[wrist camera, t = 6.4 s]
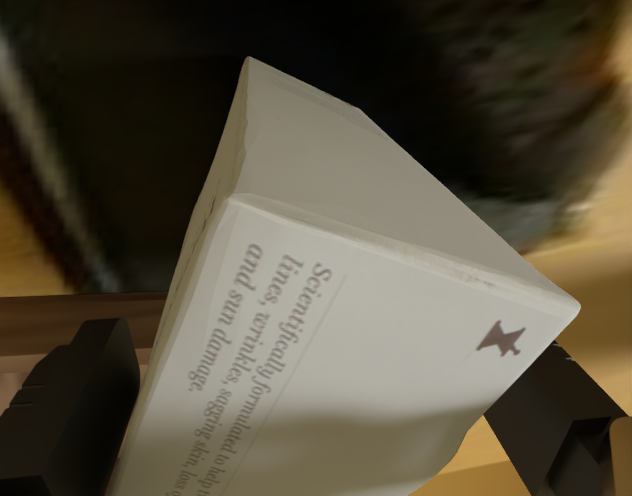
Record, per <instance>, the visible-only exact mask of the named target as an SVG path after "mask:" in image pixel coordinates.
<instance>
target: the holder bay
mask: <svg viewBox="0 0 632 496" xmlns="http://www.w3.org/2000/svg"><path fill="white" fill-rule="evenodd" d="M168 293H169V291H162V292H136V293H110V294H85V295H59V296H33V297H8V298H0V416H1V415H2V413H3V412H4V410H5V409H6V408H9V403H10V402H11V400H12V399H13V397H14V396H15V394H16V393H17V391H18V390H21V389H22V384H23V382H24V381H25V380H26V378H27V377H28V375H29V374H30V372H31V371H32V369H33V368H34V366H35V365H36V364H37V363H38V362H39V361H40V360H41V359H43V358H44V357H45V356H46V355H48V354H49V353H50V352H51V351H52V350H54V349H55V348H56V347H57V346H59V345H70V343H71V341H72V340H73V338H74V337H75V335H76V333H77V332H78V330H79V328H80V327H81V325H82V324H83V322H85V321H86V320H93V319H109V318H124V319H126V321H127V323H128V326H129V329H130V333H131V337H132V341H133V345H134V348H135V352H136V356H137V360H138V363H139V367H140V390H141V387H142V384H143V380H144V377H145V374H146V370H147V367H148V364H149V360H150V356H151V352H152V348H153V345H154V341H155V338H156V334H157V331H158V327H159V324H160V321H161V317H162V314H163V310H164V307H165V303H166V300H167V297H168ZM140 390H139V394H140ZM139 394H138V397H139ZM137 400H138V398H137ZM136 403H137V401H136ZM135 407H136V404H135ZM135 407H134V410H135ZM134 410H133V413H134ZM133 413H132V416H133ZM132 416H131V419H130V422H129V425H128V428H127V430H126V433H125V436H124V439H123V442H122V445H121V448H120V451H119V454H118V457H117V460H116V463H115V466H114V469H113V472H112V475H111V478H110V481H109V484H108V487H107V490H106V493H105V496H107V495H108V492H109V489H110V486H111V483H112V480H113V477H114V474H115V471H116V468H117V465H118V462H119V459H120V455H121V452H122V449H123V446H124V442H125V439H126V436H127V433H128V429H129V426H130V423H131V420H132Z"/></svg>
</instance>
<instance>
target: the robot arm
mask: <svg viewBox="0 0 632 496" xmlns="http://www.w3.org/2000/svg"><path fill="white" fill-rule="evenodd" d="M139 390H140V367H139V363H138V360H137V356H136V352H135V348H134V345H133V341H132V337H131V333H130V329H129V326H128V323H127V321H126V319H124V318H109V319H93V320H86V321H85V322H83V324H82V325H81V327H80V328H79V330H78V332H77V333H76V335H75V337H74V338H73V340H72V341H71V343H70V345H59V346H57V347H56V348H55V349H54V350H52V351H51V352H50V353H49V354H48V355H46V356H45V357H44V358H43V359H41V360H40V361H39V362H38V363H37V364H36V365H35V366H34V368H33V369H32V371H31V372H30V374H29V375H28V377H27V378H26V380H25V381H24V382H23V384H22V389H21V390H18V391H17V393H16V394H15V396H14V397H13V399H12V400H11V402H10V403H9V408H6V409H5V410H4V412H3V413H2V415H1V416H0V496H105V493H106V490H107V487H108V484H109V481H110V478H111V475H112V472H113V469H114V466H115V463H116V460H117V457H118V454H119V451H120V448H121V445H122V442H123V439H124V436H125V433H126V430H127V428H128V425H129V422H130V419H131V416H132V413H133V410H134V407H135V404H136V401H137V398H138V394H139ZM483 415H484V417H485V418H486V420H487V422H488V423H489V425H490V427H491V428H492V430H493V432H494V433H495V435H496V437H497V439H498V440H499V442H500V444H501V445H502V447H503V449H504V450H505V452H506V454H507V455H508V457H509V459H510V460H511V462H512V463H513V465H514V467H515V469H516V471H517V472H518V474H519V476H520V477H521V479H522V481H523V482H524V484H525V486H526V487H527V489H528V491H529V492H530V494H531V496H632V417H630V416H628V415H627V414H626V413H625V412H624V411H623V410H622V409H621V408H620V407H619V406H618V405H617V404H616V403H615V402H614V401H613V400H612V399H611V397H610V396H609V395H608V394H607V393H606V392H605V391H604V390H603V389H602V388H601V387H600V386H599V385H598V384H597V383H596V382H595V381H594V380H593V379H592V378H591V377H590V376H589V375H588V374H587V373H586V372H585V371H584V370H583V369H582V368H581V367H580V366H579V365H578V364H577V363H576V362H575V361H572V360H571V356H570V355H569V354H568V353H567V352H566V351H565V350H564V349H563V348H562V347H558V343H557V342H556V341H555V340H553V341H552V342H551V343H550V345H549V346H548V347H547V348H546V349H545V350H544V351H543V352H542V353H541V354H540V355H539V356H538V357H537V359H536V360H535V361H534V362H533V363H532V364H531V365H530V366H529V367H528V368H527V369H526V370H525V371H524V372H523V373H522V375H521V376H520V377H519V378H518V379H517V380H516V381H515V382H514V383H513V384H512V385H511V386H510V387H509V388H508V389H507V390H506V391H505V392H504V393H503V394H502V395H501V396H500V397H499V398H498V399H497V401H496V402H495V403H494V404H493V405H492V406H491V407H490V408H489V409H488V410H487V411H486V412H485V413H484V414H483Z"/></svg>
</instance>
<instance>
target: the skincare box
mask: <svg viewBox="0 0 632 496" xmlns="http://www.w3.org/2000/svg"><path fill="white" fill-rule="evenodd" d="M580 309H581V306H580V303H579V302H578V301H577V300H576V299H575V298H574V297H572V296H571V295H570V294H568V293H567V292H565V291H564V290H563V289H561V288H560V287H558V286H557V285H555V284H554V283H553V282H551V281H550V280H549V279H548V278H546V277H545V276H544V275H543V274H541V273H540V272H539V271H538V270H537V269H535V268H534V267H533V266H532V265H531V264H530V263H529V262H527V261H526V260H525V259H524V258H523V257H522V256H521V255H519V254H518V253H517V252H516V251H515V250H514V249H513V248H512V247H511V246H510V245H508V244H507V243H506V242H505V241H504V240H503V239H502V238H501V237H500V236H499V235H498V234H496V233H495V232H494V231H493V230H492V229H491V228H490V227H489V226H488V225H487V224H485V223H484V222H483V221H482V220H481V219H480V218H479V217H478V216H477V215H475V214H474V213H473V212H472V211H471V210H470V209H469V208H468V207H467V206H466V205H464V204H463V203H462V202H461V201H460V200H459V199H458V198H457V197H456V196H455V195H454V194H452V193H451V192H450V191H449V190H448V189H447V188H446V187H445V186H444V185H443V184H442V183H440V182H439V181H438V180H437V179H436V178H435V177H434V176H433V175H431V174H430V173H429V172H428V171H427V170H426V169H425V168H423V167H422V166H421V165H420V164H419V163H418V162H417V161H416V160H415V159H413V158H412V157H411V156H410V155H409V154H408V153H407V152H406V151H405V150H403V149H402V148H401V147H400V146H399V145H398V144H397V143H396V142H395V141H393V140H392V139H391V138H390V137H389V136H388V135H387V134H386V133H385V132H384V131H383V130H381V129H380V128H379V127H378V126H377V125H376V124H375V123H374V122H373V121H372V120H371V119H370V118H369V117H367V116H366V115H365V114H364V113H363V112H362V111H361V110H360V109H358V108H356V107H354V106H352V105H350V104H348V103H346V102H344V101H342V100H340V99H337V98H335V97H333V96H331V95H329V94H327V93H325V92H323V91H321V90H319V89H317V88H315V87H313V86H311V85H309V84H306V83H304V82H302V81H300V80H298V79H296V78H294V77H292V76H290V75H288V74H286V73H283V72H281V71H279V70H277V69H275V68H273V67H271V66H269V65H267V64H265V63H263V62H260V61H258V60H256V59H254V58H252V57H246V59H245V61H244V64H243V66H242V69H241V73H240V77H239V81H238V86H237V89H236V93H235V96H234V99H233V102H232V106H231V109H230V112H229V115H228V118H227V121H226V125H225V128H224V131H223V134H222V137H221V140H220V143H219V146H218V149H217V152H216V155H215V157H214V160H213V163H212V166H211V168H210V171H209V173H208V176H207V179H206V181H205V184H204V187H203V189H202V191H201V194H200V196H199V198H198V200H197V203H196V205H195V207H194V210H193V213H192V216H191V219H190V222H189V226H188V229H187V232H186V235H185V239H184V242H183V246H182V249H181V253H180V256H179V259H178V262H177V267H176V270H175V273H174V276H173V280H172V283H171V286H170V290H169V293H168V297H167V300H166V303H165V307H164V310H163V314H162V317H161V321H160V324H159V327H158V331H157V334H156V338H155V341H154V345H153V348H152V352H151V356H150V360H149V364H148V367H147V370H146V374H145V377H144V380H143V384H142V387H141V390H140V394H139V397H138V400H137V403H136V407H135V410H134V413H133V416H132V420H131V423H130V426H129V429H128V433H127V436H126V439H125V442H124V446H123V449H122V452H121V455H120V459H119V462H118V465H117V468H116V471H115V474H114V477H113V480H112V483H111V486H110V489H109V492H108V495H107V496H407V495H409V494H410V493H412V492H413V491H415V490H416V489H417V488H419V487H420V486H422V485H423V484H425V483H426V482H427V481H429V480H430V479H432V478H433V477H434V476H435V475H436V474H437V473H438V472H439V471H441V470H442V469H443V468H444V467H445V466H446V465H447V464H448V463H449V462H450V461H451V459H452V458H453V457H454V456H455V454H456V453H457V451H458V449H459V447H460V445H461V443H462V441H463V439H464V437H465V435H466V433H467V431H468V430H469V429H470V428H471V427H472V426H473V425H474V424H475V423H476V421H477V420H478V419H479V418H480V417H481V416H482V415H483V414H484V413H485V412H486V411H487V410H488V409H489V408H490V407H491V406H492V405H493V404H494V403H495V402H496V401H497V399H498V398H499V397H500V396H501V395H502V394H503V393H504V392H505V391H506V390H507V389H508V388H509V387H510V386H511V385H512V384H513V383H514V382H515V381H516V380H517V379H518V378H519V377H520V376H521V375H522V373H523V372H524V371H525V370H526V369H527V368H528V367H529V366H530V365H531V364H532V363H533V362H534V361H535V360H536V359H537V357H538V356H539V355H540V354H541V353H542V352H543V351H544V350H545V349H546V348H547V347H548V346H549V345H550V343H551V342H552V341H553V340H554V339H555V338H556V337H557V336H558V335H559V334H560V333H561V332H562V330H563V329H564V328H565V327H566V326H567V325H568V324H569V323H570V322H571V321H572V320H573V319H574V318H575V317H576V316H577V315H578V313H579V311H580Z"/></svg>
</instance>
